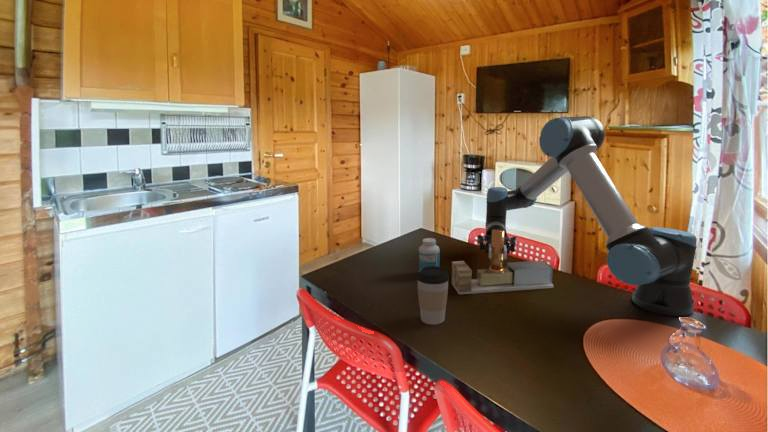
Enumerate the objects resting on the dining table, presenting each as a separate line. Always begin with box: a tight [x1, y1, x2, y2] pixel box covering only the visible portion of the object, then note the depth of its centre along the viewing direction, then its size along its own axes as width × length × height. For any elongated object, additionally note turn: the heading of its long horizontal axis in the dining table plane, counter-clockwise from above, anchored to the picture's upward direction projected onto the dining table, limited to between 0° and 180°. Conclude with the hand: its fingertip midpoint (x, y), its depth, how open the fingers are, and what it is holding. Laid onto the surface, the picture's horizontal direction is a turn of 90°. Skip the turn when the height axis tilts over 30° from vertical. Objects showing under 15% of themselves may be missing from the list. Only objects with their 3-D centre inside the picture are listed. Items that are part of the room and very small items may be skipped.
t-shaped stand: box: [476, 229, 514, 285], centre depth 136 cm, size 5×20×18 cm, turn 96°
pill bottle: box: [418, 237, 441, 273], centre depth 147 cm, size 8×7×14 cm
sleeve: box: [506, 260, 554, 286], centre depth 139 cm, size 7×13×7 cm, turn 96°
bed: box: [451, 278, 555, 295], centre depth 138 cm, size 9×32×1 cm, turn 96°
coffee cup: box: [416, 266, 450, 325], centre depth 116 cm, size 9×9×15 cm
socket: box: [451, 260, 473, 292], centre depth 136 cm, size 9×4×7 cm, turn 6°
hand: (497, 254), depth 130 cm, fingers closed on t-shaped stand, 4 cm apart
